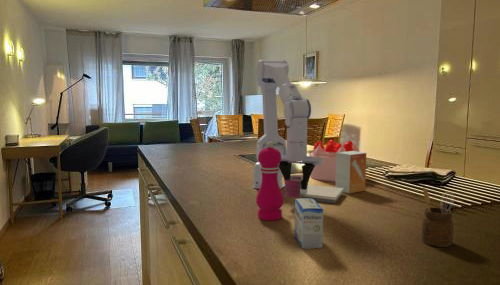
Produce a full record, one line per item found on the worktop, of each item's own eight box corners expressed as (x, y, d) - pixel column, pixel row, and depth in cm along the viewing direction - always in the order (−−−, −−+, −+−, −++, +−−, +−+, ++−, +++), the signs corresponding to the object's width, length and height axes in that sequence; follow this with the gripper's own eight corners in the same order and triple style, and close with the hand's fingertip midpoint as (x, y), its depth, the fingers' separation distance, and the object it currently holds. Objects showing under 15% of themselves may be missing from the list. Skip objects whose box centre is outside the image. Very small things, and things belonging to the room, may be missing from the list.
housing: (285, 196, 103) (284, 177, 102) (293, 191, 109) (293, 173, 108) (300, 198, 101) (300, 179, 100) (307, 192, 107) (307, 174, 106)
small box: (349, 194, 117) (350, 154, 115) (334, 190, 122) (335, 152, 121) (365, 190, 121) (366, 152, 120) (351, 187, 127) (351, 150, 125)
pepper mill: (286, 214, 97) (286, 140, 95) (279, 222, 90) (279, 143, 88) (260, 211, 99) (260, 139, 97) (252, 219, 93) (251, 142, 90)
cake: (339, 184, 130) (340, 145, 128) (299, 176, 146) (299, 141, 144) (370, 177, 142) (371, 141, 141) (330, 170, 158) (330, 138, 156)
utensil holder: (459, 247, 74) (462, 190, 73) (429, 248, 74) (432, 191, 72) (441, 236, 80) (444, 183, 79) (414, 237, 80) (416, 184, 78)
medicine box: (294, 235, 82) (294, 198, 81) (313, 234, 82) (313, 197, 81) (301, 249, 74) (302, 208, 73) (323, 248, 74) (323, 207, 73)
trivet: (296, 199, 111) (296, 193, 111) (307, 190, 122) (308, 184, 122) (335, 203, 106) (335, 197, 106) (343, 194, 117) (343, 188, 117)
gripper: (268, 142, 103) (268, 188, 104) (317, 144, 96) (317, 193, 98) (277, 139, 109) (277, 183, 110) (324, 141, 102) (323, 188, 104)
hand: (296, 187), depth 105 cm, fingers closed on housing, 4 cm apart
